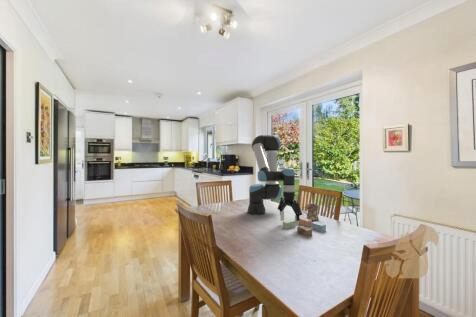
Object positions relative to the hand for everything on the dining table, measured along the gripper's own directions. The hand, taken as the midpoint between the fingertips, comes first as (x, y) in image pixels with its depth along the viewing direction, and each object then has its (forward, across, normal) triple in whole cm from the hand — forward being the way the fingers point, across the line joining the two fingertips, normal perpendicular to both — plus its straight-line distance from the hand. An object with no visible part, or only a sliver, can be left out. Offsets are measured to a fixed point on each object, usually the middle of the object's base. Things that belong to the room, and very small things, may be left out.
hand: (289, 223), depth 145 cm
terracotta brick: (+3, +2, +12) cm, 13 cm away
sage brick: (+3, 0, 0) cm, 3 cm away
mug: (+3, -4, +25) cm, 26 cm away
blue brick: (+3, +14, +12) cm, 18 cm away
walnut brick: (+3, +14, -2) cm, 15 cm away
